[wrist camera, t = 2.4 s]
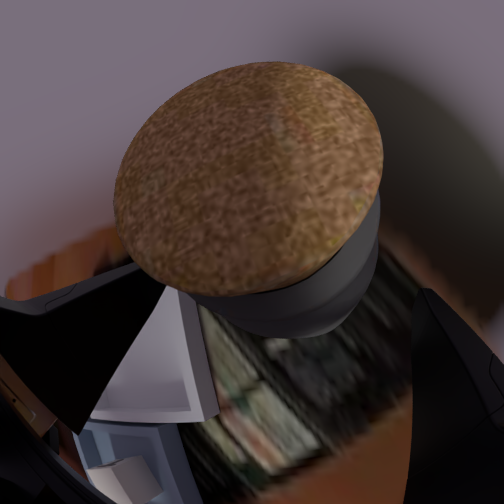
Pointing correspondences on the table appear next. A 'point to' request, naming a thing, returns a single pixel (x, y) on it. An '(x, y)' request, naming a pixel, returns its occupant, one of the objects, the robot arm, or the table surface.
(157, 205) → the bottle
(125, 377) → the grey tray
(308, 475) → the table surface
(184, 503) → the blue tray
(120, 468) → the white cube
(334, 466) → the table surface
